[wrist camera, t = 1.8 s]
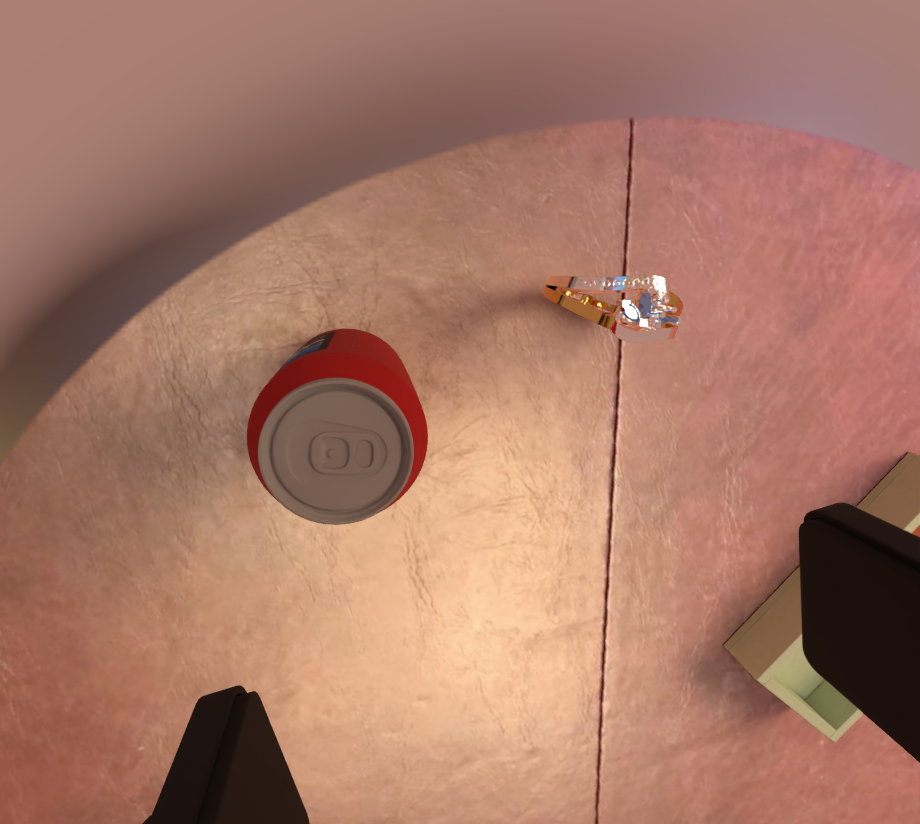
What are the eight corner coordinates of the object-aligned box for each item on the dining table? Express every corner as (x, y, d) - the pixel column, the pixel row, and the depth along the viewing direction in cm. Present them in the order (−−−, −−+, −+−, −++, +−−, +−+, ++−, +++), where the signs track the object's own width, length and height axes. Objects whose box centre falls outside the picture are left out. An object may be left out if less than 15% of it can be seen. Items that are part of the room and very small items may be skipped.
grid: (972, 527, 41) (1027, 550, 37) (796, 705, 42) (834, 743, 39) (909, 451, 38) (963, 468, 34) (722, 645, 39) (756, 680, 36)
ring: (641, 297, 31) (730, 304, 24) (619, 347, 32) (699, 369, 24) (539, 253, 30) (599, 245, 22) (518, 307, 30) (570, 317, 23)
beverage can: (287, 322, 28) (232, 353, 17) (411, 330, 29) (440, 364, 18) (286, 441, 30) (236, 544, 18) (404, 444, 31) (427, 542, 20)
